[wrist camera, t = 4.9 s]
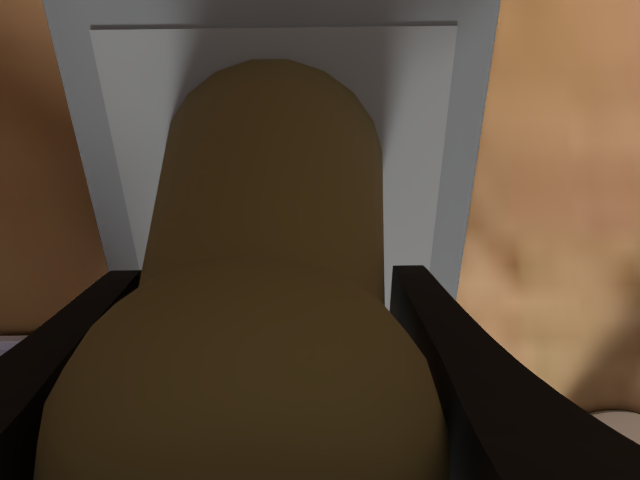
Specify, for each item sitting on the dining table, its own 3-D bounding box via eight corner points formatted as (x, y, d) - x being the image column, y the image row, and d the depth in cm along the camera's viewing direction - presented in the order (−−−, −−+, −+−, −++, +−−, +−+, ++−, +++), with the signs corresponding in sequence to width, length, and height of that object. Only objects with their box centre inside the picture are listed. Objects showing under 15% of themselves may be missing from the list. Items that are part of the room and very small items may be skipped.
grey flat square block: (144, 297, 21) (125, 344, 18) (76, -25, 15) (36, -15, 13) (435, 292, 21) (451, 337, 19) (475, -29, 15) (504, -20, 13)
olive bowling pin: (212, 13, 13) (-1, 266, 4) (424, 122, 15) (652, 493, 5) (135, 214, 16) (-105, 659, 6) (321, 287, 17) (351, 732, 8)
